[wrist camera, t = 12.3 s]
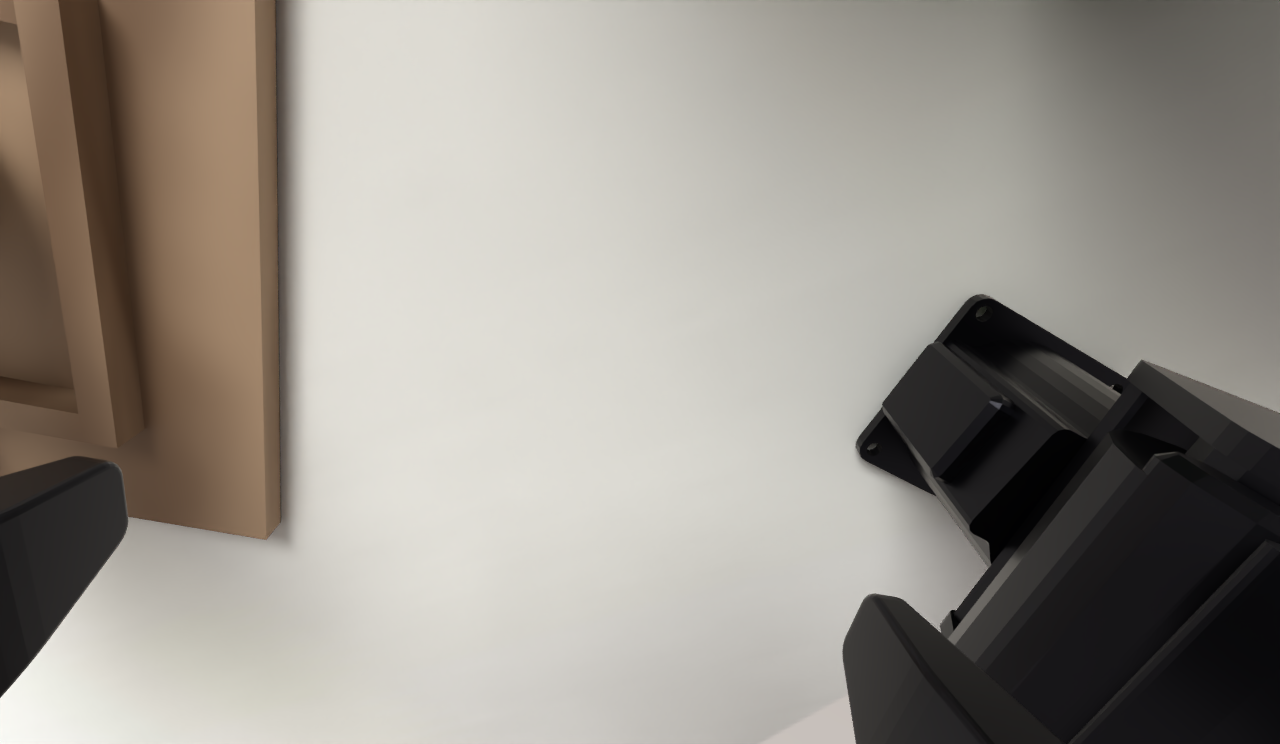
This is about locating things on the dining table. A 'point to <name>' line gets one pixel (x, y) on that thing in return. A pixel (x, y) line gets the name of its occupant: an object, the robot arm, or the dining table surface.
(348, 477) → the dining table surface
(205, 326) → the walnut bottle stand
